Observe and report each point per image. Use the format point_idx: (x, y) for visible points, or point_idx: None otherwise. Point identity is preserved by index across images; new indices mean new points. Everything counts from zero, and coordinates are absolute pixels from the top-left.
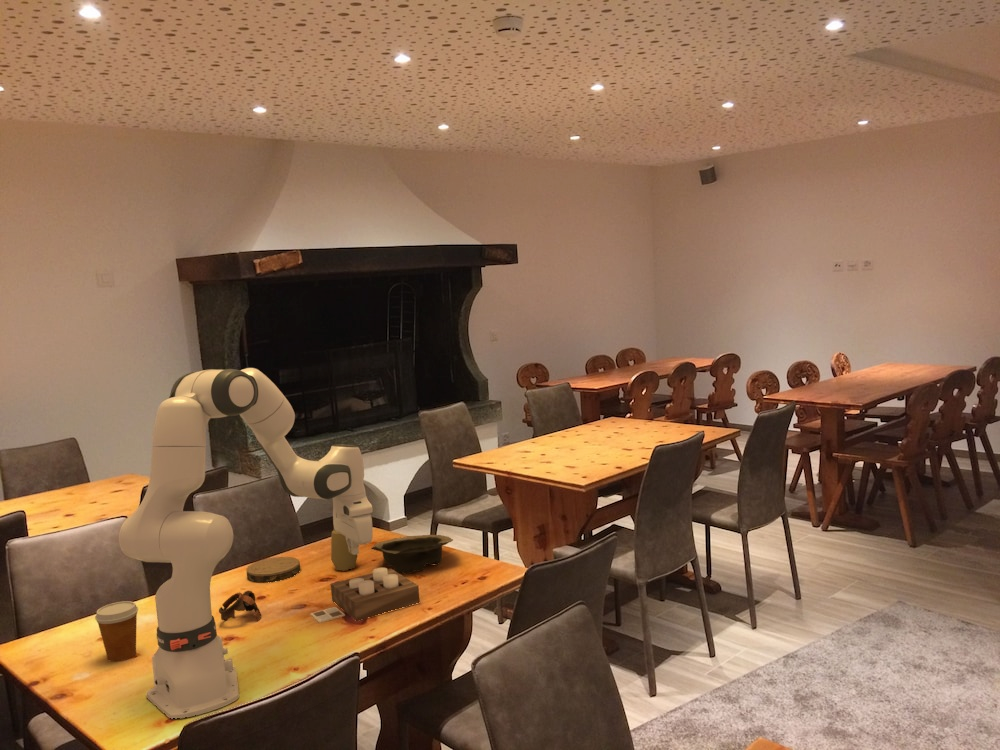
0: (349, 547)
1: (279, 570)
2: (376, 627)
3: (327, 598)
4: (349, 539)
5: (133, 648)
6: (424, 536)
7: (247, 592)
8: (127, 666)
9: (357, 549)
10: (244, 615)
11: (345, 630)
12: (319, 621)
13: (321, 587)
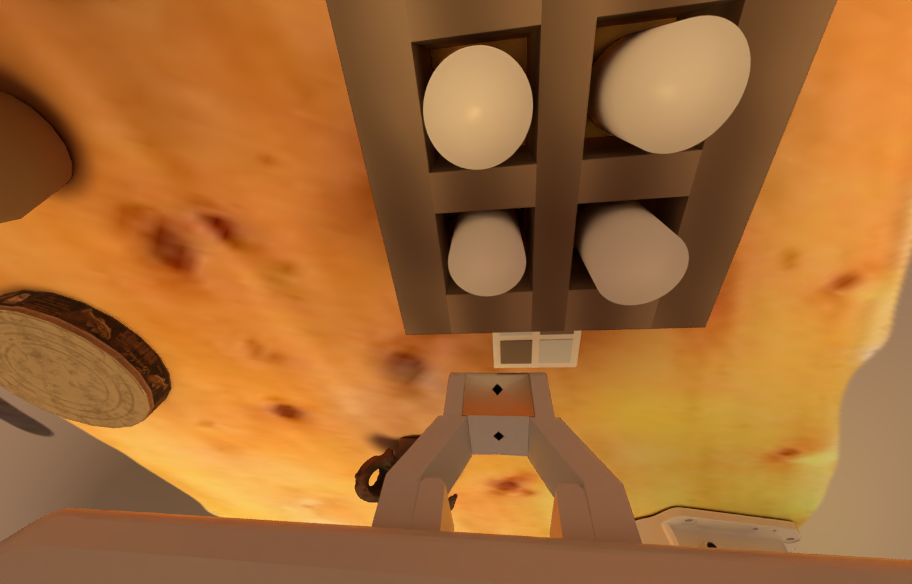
0: (478, 450)
1: (117, 375)
2: (790, 243)
3: (381, 296)
4: (451, 519)
5: None
6: None
7: (374, 500)
8: None
9: (551, 408)
10: (394, 452)
11: (699, 327)
12: (576, 366)
13: (259, 283)
